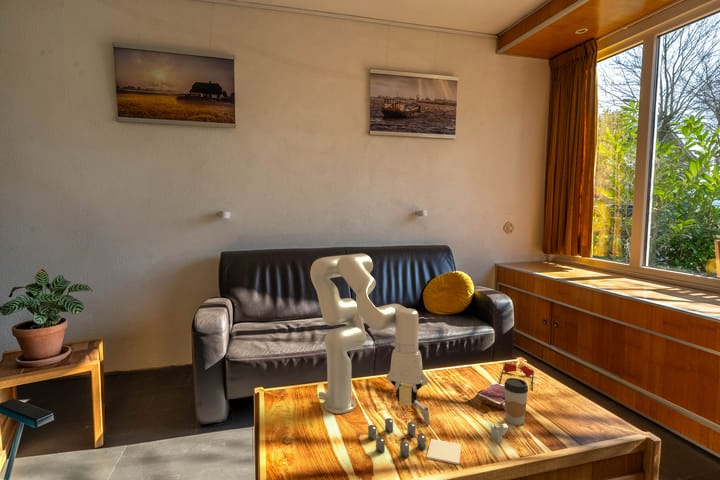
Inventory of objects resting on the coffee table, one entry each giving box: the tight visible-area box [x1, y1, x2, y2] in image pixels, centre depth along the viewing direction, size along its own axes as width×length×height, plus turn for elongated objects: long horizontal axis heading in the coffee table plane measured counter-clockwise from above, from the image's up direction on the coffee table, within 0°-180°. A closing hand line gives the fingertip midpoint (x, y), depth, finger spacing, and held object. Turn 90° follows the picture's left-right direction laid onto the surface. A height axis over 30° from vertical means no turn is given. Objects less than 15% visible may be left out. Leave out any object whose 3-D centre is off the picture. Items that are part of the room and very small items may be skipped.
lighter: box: [490, 423, 509, 445], centre depth 133 cm, size 7×2×8 cm, turn 16°
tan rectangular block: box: [398, 383, 413, 407], centre depth 131 cm, size 4×4×6 cm
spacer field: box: [367, 417, 427, 460], centre depth 133 cm, size 20×15×4 cm
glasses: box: [498, 363, 535, 392], centre depth 181 cm, size 14×16×5 cm
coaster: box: [426, 438, 462, 465], centre depth 128 cm, size 10×10×1 cm
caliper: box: [414, 399, 430, 426], centre depth 154 cm, size 20×1×6 cm, turn 9°
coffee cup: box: [503, 377, 529, 426], centre depth 146 cm, size 8×8×15 cm
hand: (406, 400), depth 131 cm, fingers closed on tan rectangular block, 4 cm apart
